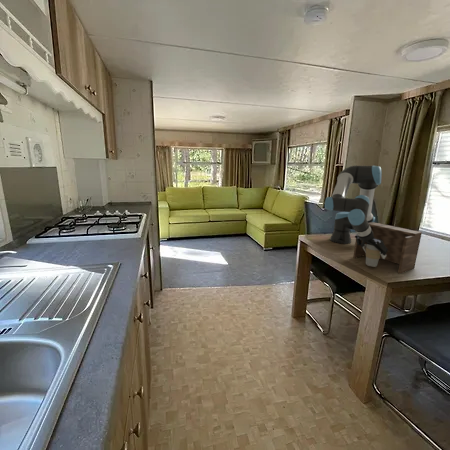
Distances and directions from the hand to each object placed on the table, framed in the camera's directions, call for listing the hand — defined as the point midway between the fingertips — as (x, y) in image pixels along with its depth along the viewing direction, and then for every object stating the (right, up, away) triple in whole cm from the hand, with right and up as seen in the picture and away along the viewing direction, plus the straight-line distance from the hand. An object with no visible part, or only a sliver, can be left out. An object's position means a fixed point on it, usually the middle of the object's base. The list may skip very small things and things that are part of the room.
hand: (375, 254), depth 149 cm
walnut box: (+9, -6, +8) cm, 14 cm away
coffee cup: (-3, -6, 0) cm, 7 cm away
